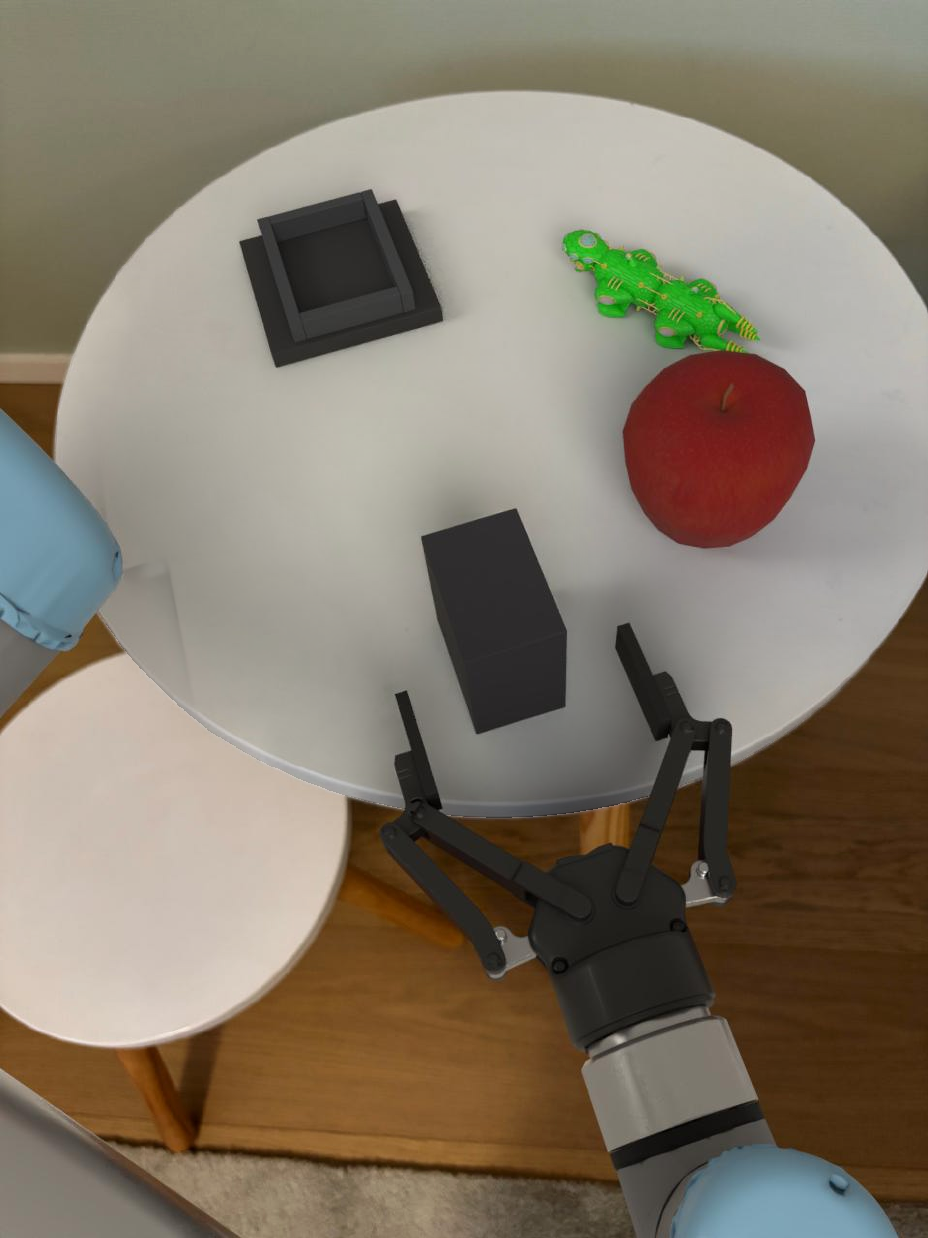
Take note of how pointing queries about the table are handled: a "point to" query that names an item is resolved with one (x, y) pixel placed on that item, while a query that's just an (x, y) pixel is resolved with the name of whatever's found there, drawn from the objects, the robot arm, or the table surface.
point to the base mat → (337, 277)
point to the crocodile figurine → (656, 294)
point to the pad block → (497, 620)
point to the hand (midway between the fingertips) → (513, 667)
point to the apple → (717, 446)
